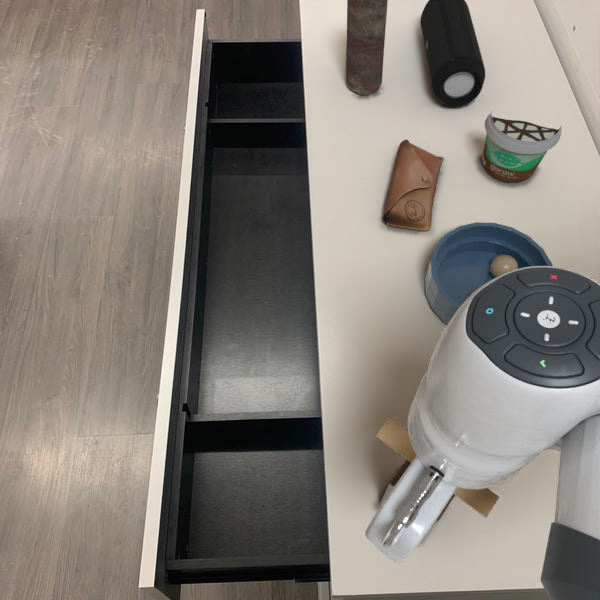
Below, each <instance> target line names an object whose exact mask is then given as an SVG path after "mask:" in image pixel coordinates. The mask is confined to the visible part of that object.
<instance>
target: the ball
mask: <svg viewBox="0 0 600 600" xmlns="http://www.w3.org/2000/svg"><path fill="white" fill-rule="evenodd" d="M516 269H518V264H517V261H516V260H515V259H514V258H513V257H511V256H509V255H500V256H497V257H496V258H495V259H494V260H493V261H492V262H491V265H490V271H491V274H492V275H493V277H494V278H496V277H498V276H500V275H502V274H504V273H507V272H509V271H512V270H516Z"/></svg>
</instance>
